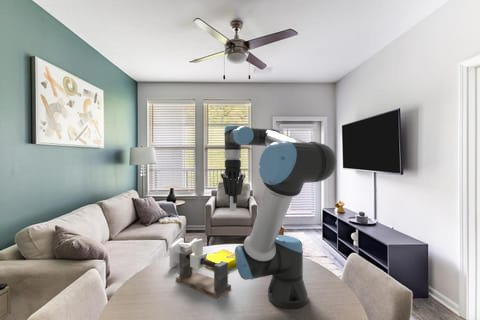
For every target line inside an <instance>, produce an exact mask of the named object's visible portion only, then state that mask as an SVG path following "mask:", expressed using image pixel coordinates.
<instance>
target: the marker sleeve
mask: <svg viewBox="0 0 480 320" xmlns="http://www.w3.org/2000/svg"><path fill="white" fill-rule="evenodd" d="M203 241H204V240H203V239H202V238H200V239H198V240H196V241H194V253H193V254H190V267H192V269H196V270H200V269H203V268H204V267H207V265H204V264H201V263H200V259H205V260H207V255H208V253H207V252H204V242H203Z"/></svg>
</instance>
